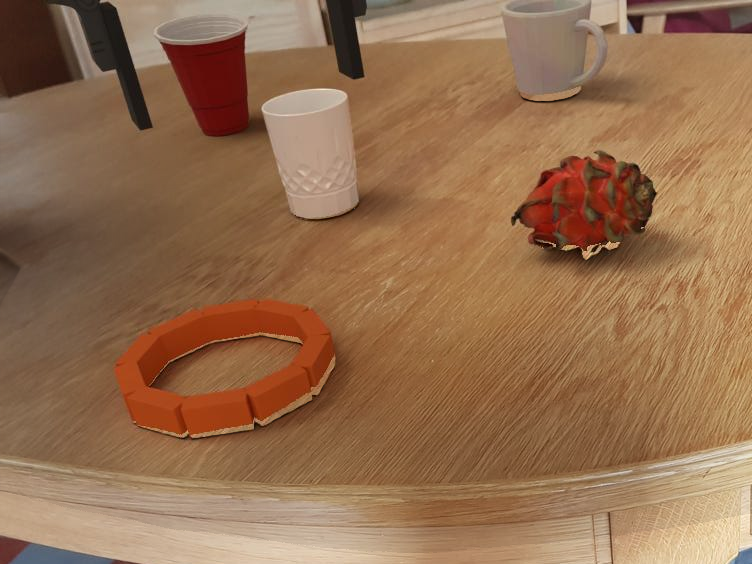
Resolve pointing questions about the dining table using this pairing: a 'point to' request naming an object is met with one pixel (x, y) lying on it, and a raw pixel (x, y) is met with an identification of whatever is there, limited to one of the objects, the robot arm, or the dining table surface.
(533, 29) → the mug
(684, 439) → the dining table surface
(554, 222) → the dragon fruit
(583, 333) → the dining table surface
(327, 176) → the white cup
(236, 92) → the plastic cup
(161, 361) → the ring
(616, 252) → the dining table surface
